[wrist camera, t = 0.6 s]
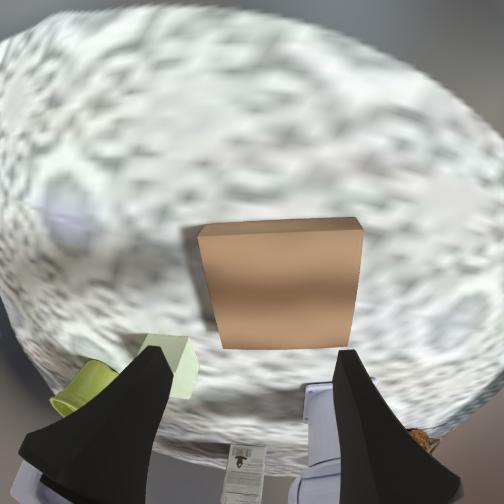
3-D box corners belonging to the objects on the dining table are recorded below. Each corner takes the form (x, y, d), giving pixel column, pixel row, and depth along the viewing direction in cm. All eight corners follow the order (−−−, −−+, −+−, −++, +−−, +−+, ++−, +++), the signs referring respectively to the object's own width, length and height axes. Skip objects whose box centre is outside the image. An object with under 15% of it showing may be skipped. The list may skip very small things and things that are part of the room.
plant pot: (67, 343, 28) (37, 390, 21) (120, 357, 27) (91, 415, 20) (95, 384, 33) (73, 426, 25) (145, 398, 32) (126, 448, 24)
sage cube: (200, 365, 26) (189, 399, 22) (162, 361, 26) (149, 393, 23) (189, 336, 24) (175, 372, 20) (148, 333, 24) (131, 366, 20)
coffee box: (264, 460, 40) (256, 529, 26) (231, 457, 41) (219, 525, 27) (267, 446, 36) (258, 529, 22) (228, 442, 37) (214, 524, 22)
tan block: (343, 325, 22) (347, 346, 20) (228, 328, 23) (223, 348, 21) (354, 214, 17) (363, 229, 15) (207, 221, 19) (197, 236, 16)
